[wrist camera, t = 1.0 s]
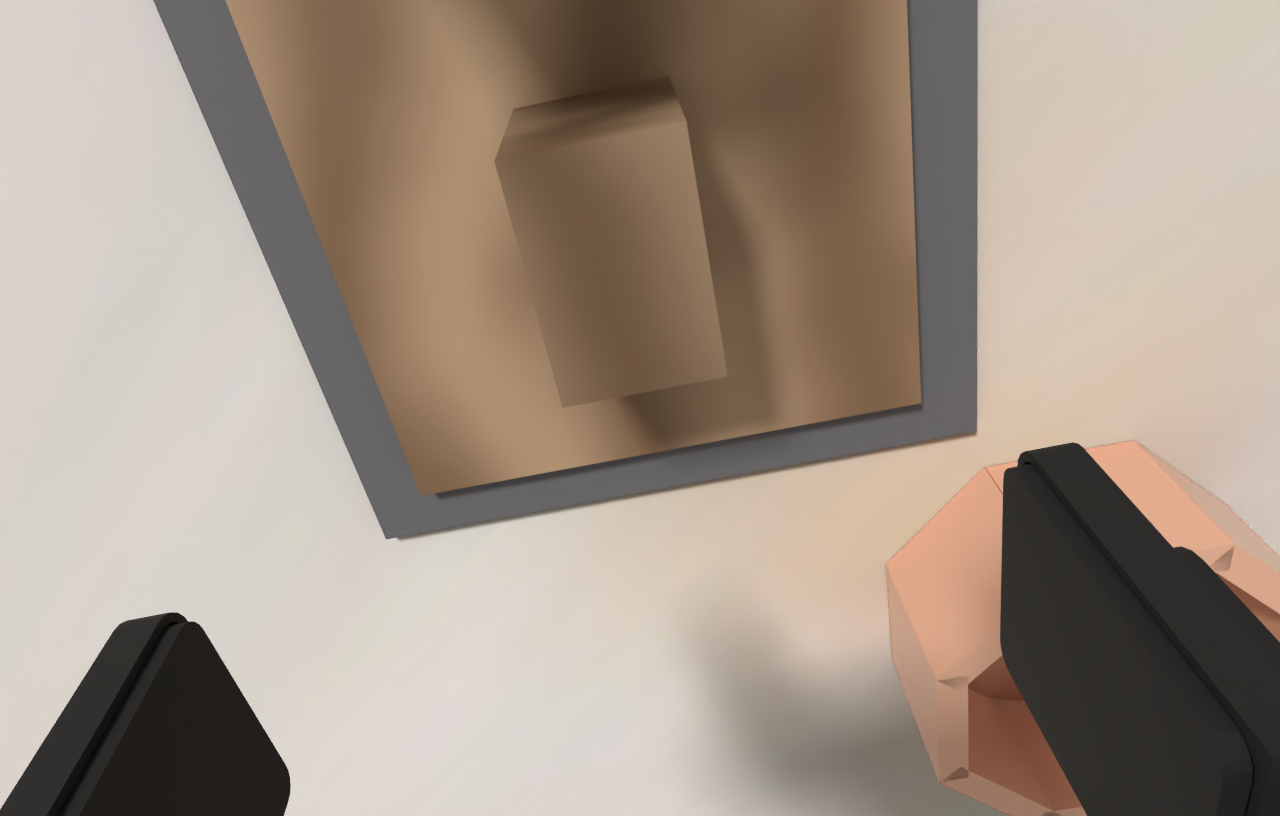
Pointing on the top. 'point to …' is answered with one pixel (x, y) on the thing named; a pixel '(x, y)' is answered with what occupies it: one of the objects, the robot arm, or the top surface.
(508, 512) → the mat
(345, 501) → the top surface
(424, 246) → the lid
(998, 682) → the open box
